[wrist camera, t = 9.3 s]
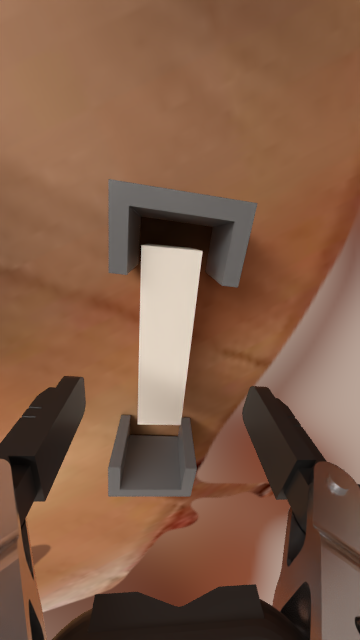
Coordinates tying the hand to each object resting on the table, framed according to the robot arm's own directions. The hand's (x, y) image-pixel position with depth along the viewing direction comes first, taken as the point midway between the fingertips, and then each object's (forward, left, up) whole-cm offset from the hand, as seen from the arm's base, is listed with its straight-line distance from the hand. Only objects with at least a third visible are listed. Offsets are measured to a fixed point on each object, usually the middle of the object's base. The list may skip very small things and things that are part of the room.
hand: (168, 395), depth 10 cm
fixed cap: (-7, 0, -10) cm, 12 cm away
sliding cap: (+15, 0, -10) cm, 18 cm away
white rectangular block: (0, 0, -10) cm, 10 cm away
